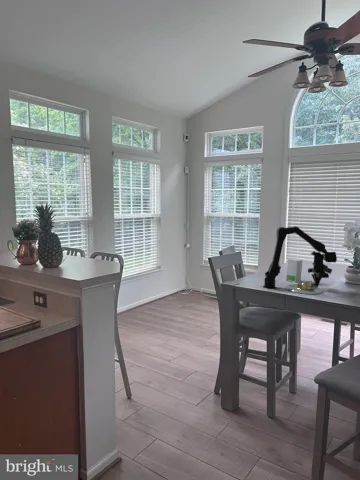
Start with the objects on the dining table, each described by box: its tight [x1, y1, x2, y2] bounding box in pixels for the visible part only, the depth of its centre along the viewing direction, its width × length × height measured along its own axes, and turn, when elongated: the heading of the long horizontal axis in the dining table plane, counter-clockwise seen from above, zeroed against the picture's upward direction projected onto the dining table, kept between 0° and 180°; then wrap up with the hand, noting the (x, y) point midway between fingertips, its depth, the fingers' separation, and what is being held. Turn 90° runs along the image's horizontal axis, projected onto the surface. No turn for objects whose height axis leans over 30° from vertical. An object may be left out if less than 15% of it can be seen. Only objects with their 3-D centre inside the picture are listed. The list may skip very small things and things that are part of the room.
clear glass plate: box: [285, 280, 323, 295], centre depth 224 cm, size 22×22×4 cm
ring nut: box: [296, 280, 319, 290], centre depth 226 cm, size 15×8×4 cm, turn 114°
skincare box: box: [285, 258, 303, 283], centre depth 250 cm, size 8×7×16 cm
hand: (317, 286), depth 226 cm, fingers closed
